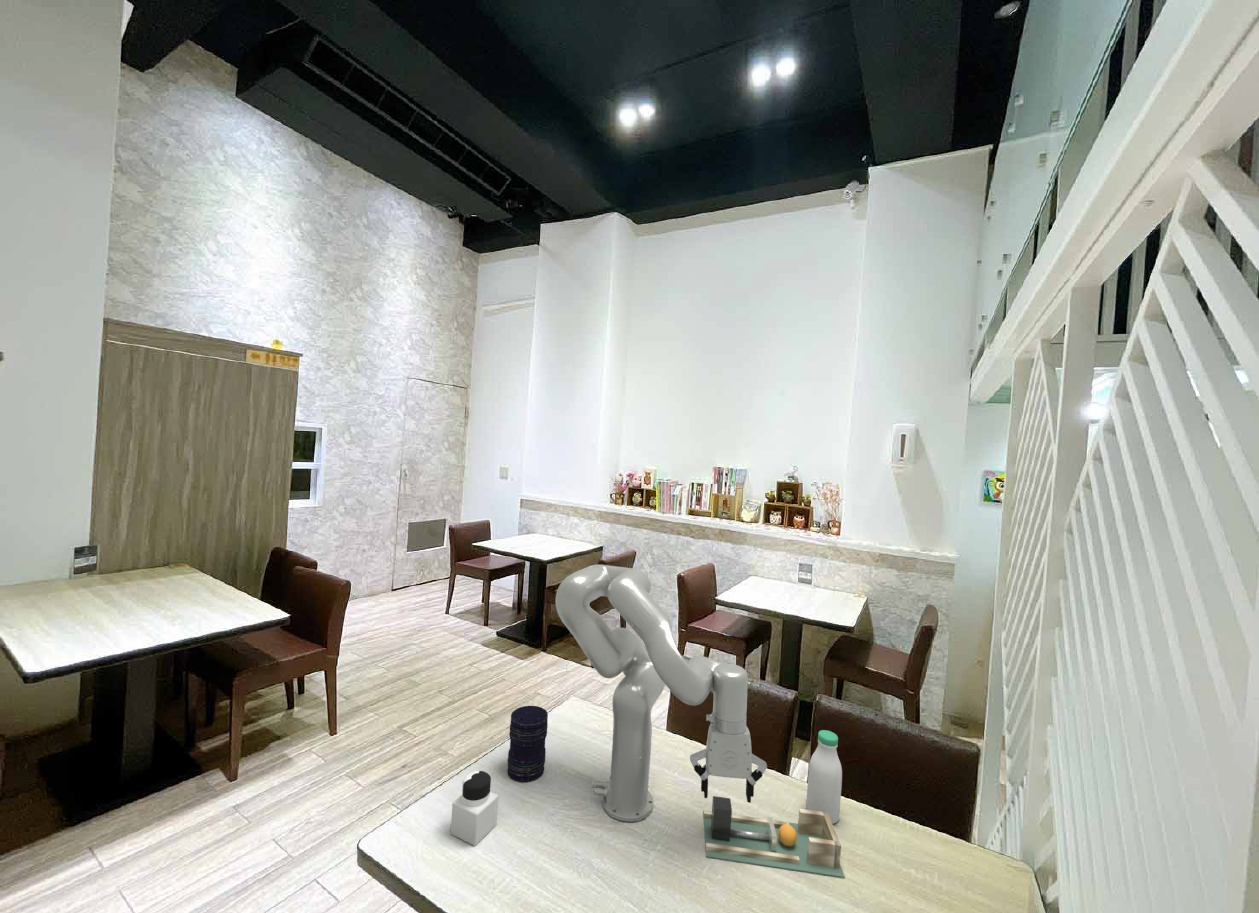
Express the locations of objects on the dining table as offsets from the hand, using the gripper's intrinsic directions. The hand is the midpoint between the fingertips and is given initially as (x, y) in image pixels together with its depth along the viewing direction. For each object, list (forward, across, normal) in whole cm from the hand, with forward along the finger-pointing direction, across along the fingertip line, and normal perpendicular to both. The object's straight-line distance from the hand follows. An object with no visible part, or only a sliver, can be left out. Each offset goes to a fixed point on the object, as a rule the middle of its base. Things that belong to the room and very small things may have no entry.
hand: (726, 796), depth 115 cm
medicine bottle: (+8, -56, -9) cm, 57 cm away
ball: (+8, +14, 0) cm, 16 cm away
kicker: (+9, +4, 0) cm, 10 cm away
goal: (+10, +20, 0) cm, 23 cm away
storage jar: (+8, -51, +13) cm, 53 cm away
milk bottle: (+10, +25, +12) cm, 29 cm away
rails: (+9, +5, 0) cm, 11 cm away
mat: (+10, +10, 0) cm, 14 cm away
